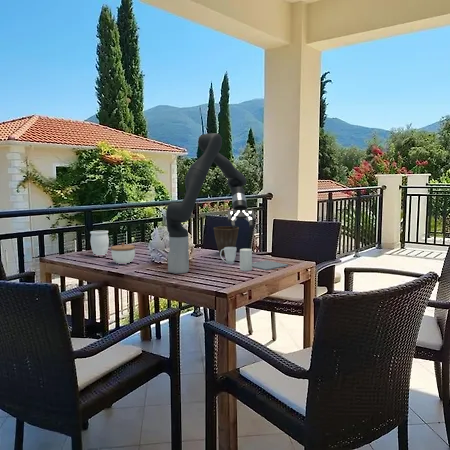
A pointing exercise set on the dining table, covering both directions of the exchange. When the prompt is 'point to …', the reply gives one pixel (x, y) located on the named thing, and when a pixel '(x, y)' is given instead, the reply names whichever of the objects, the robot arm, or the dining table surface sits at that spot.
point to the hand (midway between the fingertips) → (242, 226)
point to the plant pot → (225, 237)
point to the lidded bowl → (123, 253)
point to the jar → (99, 242)
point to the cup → (229, 254)
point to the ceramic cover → (245, 259)
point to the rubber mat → (267, 265)
